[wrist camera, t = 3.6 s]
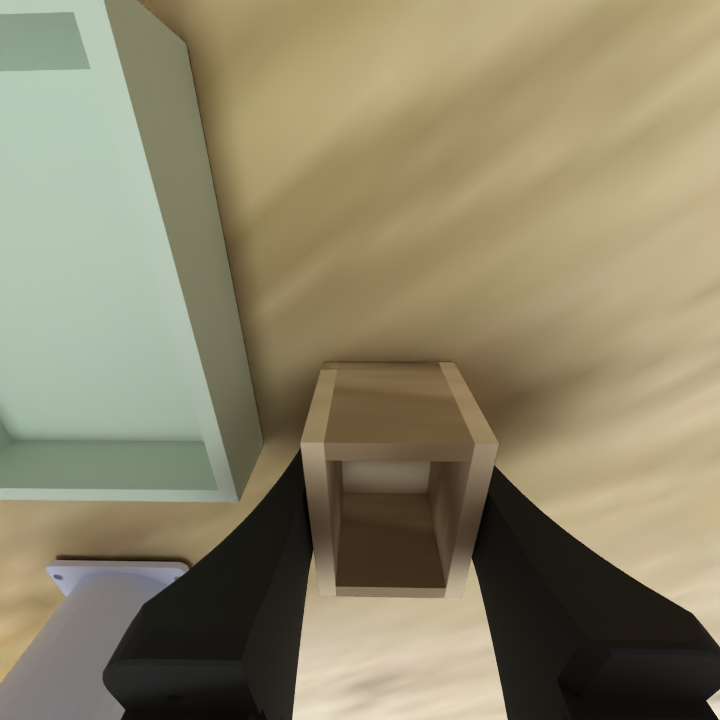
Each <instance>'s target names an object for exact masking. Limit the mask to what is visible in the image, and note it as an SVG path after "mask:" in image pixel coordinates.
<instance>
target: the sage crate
mask: <svg viewBox="0 0 720 720" xmlns="http://www.w3.org/2000/svg"><path fill="white" fill-rule="evenodd" d="M263 445H264V443H263V438H262V432H261V427H260V422H259V417H258V412H257V407H256V402H255V396H254V391H253V386H252V381H251V376H250V371H249V365H248V360H247V355H246V350H245V345H244V340H243V334H242V329H241V324H240V319H239V314H238V309H237V303H236V298H235V293H234V288H233V283H232V278H231V272H230V267H229V262H228V257H227V252H226V247H225V241H224V236H223V231H222V226H221V221H220V216H219V211H218V205H217V200H216V195H215V190H214V185H213V180H212V174H211V169H210V164H209V159H208V154H207V149H206V143H205V138H204V133H203V128H202V123H201V118H200V112H199V107H198V102H197V97H196V92H195V87H194V81H193V76H192V71H191V66H190V61H189V56H188V50H187V45H186V43H185V42H184V41H183V40H181V39H180V38H179V37H178V36H177V35H176V34H175V33H174V32H172V31H171V30H170V29H169V28H168V27H167V26H166V25H164V24H163V23H162V22H161V21H160V20H159V19H158V18H157V17H155V16H154V15H153V14H152V13H151V12H150V11H149V10H148V9H146V8H145V7H144V6H143V5H142V4H141V3H140V2H139V1H137V0H0V500H67V501H159V502H239V501H240V499H241V496H242V494H243V492H244V489H245V487H246V485H247V482H248V480H249V478H250V475H251V473H252V471H253V468H254V466H255V464H256V462H257V459H258V457H259V455H260V452H261V450H262V448H263Z"/></svg>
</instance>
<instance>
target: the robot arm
mask: <svg viewBox="0 0 720 720" xmlns="http://www.w3.org/2000/svg"><path fill="white" fill-rule="evenodd" d="M312 554H313V541H312V533H311V525H310V517H309V509H308V501H307V493H306V485H305V477H304V469H303V461H302V453H301V448H300V450H299V451H298V453H297V454H296V456H295V457H294V459H293V460H292V462H291V463H290V465H289V466H288V468H287V469H286V470H285V472H284V473H283V474H282V476H281V477H280V479H279V480H278V481H277V483H276V484H275V485H274V486H273V488H272V489H271V490H270V491H269V493H268V494H267V495H266V496H265V497H264V499H263V500H262V501H261V502H260V503H259V504H258V506H257V507H256V508H255V509H254V510H253V511H252V512H251V513H250V514H249V515H248V517H247V518H246V519H245V520H244V521H243V522H242V523H241V524H240V525H239V526H238V527H237V528H236V529H235V530H234V531H233V532H232V533H231V534H230V535H229V536H228V537H226V538H225V539H224V540H223V541H222V542H221V543H220V544H219V545H218V546H217V547H216V548H214V549H213V550H212V551H211V552H210V553H209V554H207V555H206V556H205V557H204V558H203V559H201V560H200V561H199V562H198V563H197V564H196V565H194V566H193V567H192V568H191V569H190V570H189V568H188V566H187V565H186V564H184V563H182V562H150V561H86V560H54V561H52V562H50V564H49V565H48V566H47V567H46V572H47V573H48V574H49V576H50V577H51V578H52V580H53V581H54V582H55V583H56V585H57V586H58V587H59V588H60V590H61V591H62V592H63V594H64V595H65V596H66V598H65V600H64V601H63V602H62V604H61V605H60V606H59V608H58V609H57V610H56V611H55V613H54V614H53V615H52V617H51V618H50V619H49V621H48V622H47V623H46V624H45V626H44V627H43V628H42V630H41V631H40V632H39V634H38V635H37V636H36V637H35V639H34V640H33V641H32V643H31V644H30V645H29V647H28V648H27V649H26V651H25V652H24V653H23V654H22V656H21V657H20V658H19V660H18V661H17V662H16V664H15V665H14V666H13V667H12V669H11V670H10V671H9V673H8V674H7V675H6V677H5V678H4V679H3V681H2V682H1V683H0V720H292V714H293V704H294V694H295V684H296V675H297V666H298V657H299V648H300V639H301V630H302V622H303V614H304V605H305V598H306V590H307V582H308V575H309V569H310V563H311V558H312ZM472 560H473V563H474V566H475V570H476V573H477V577H478V581H479V585H480V589H481V593H482V597H483V602H484V606H485V610H486V615H487V619H488V624H489V628H490V633H491V637H492V642H493V646H494V651H495V656H496V661H497V666H498V671H499V676H500V681H501V686H502V691H503V696H504V702H505V707H506V712H507V718H508V720H719V719H718V718H717V716H716V715H715V713H714V712H713V710H712V709H711V707H710V706H709V704H708V703H707V702H706V700H707V699H709V698H710V697H711V696H712V695H713V694H715V693H716V692H717V691H718V690H719V689H720V647H719V645H718V644H717V643H716V642H715V640H714V639H713V638H712V637H711V635H710V634H709V633H708V632H707V630H706V629H705V628H704V627H703V626H702V624H701V623H700V622H699V621H698V620H697V618H696V617H695V616H694V615H693V614H692V613H691V612H689V611H687V610H685V609H684V608H682V607H680V606H679V605H677V604H675V603H674V602H672V601H670V600H669V599H667V598H665V597H663V596H662V595H660V594H658V593H657V592H655V591H653V590H652V589H650V588H648V587H646V586H645V585H643V584H642V583H640V582H638V581H637V580H635V579H634V578H632V577H631V576H629V575H628V574H626V573H624V572H623V571H621V570H620V569H618V568H617V567H615V566H614V565H612V564H611V563H609V562H608V561H606V560H605V559H603V558H602V557H600V556H599V555H598V554H596V553H595V552H593V551H592V550H591V549H589V548H588V547H587V546H585V545H584V544H582V543H581V542H580V541H578V540H577V539H576V538H574V537H573V536H572V535H570V534H569V533H568V532H566V531H565V530H564V529H563V528H561V527H560V526H559V525H558V524H556V523H555V522H554V521H553V520H552V519H550V518H549V517H548V516H547V515H546V514H544V513H543V512H542V511H541V510H540V509H539V508H537V507H536V506H535V505H534V504H533V503H532V502H531V501H530V500H529V499H528V498H526V497H525V496H524V495H523V494H522V493H521V492H520V491H519V490H518V489H517V488H516V487H515V486H514V485H513V484H512V483H511V482H510V481H509V480H508V479H507V478H506V477H505V476H504V475H503V474H502V473H501V472H500V471H499V469H498V468H497V467H496V466H495V465H494V468H493V472H492V476H491V480H490V484H489V488H488V492H487V496H486V500H485V505H484V509H483V513H482V517H481V521H480V525H479V529H478V533H477V537H476V541H475V545H474V550H473V554H472Z"/></svg>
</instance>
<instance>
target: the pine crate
mask: <svg viewBox="0 0 720 720" xmlns="http://www.w3.org/2000/svg"><path fill="white" fill-rule="evenodd" d="M300 445H301V453H302V461H303V469H304V477H305V485H306V493H307V501H308V509H309V517H310V525H311V533H312V541H313V549H314V557H315V565H316V573H317V581H318V589H319V596H355V597H409V598H462V595H463V591H464V586H465V582H466V578H467V574H468V570H469V566H470V562H471V558H472V554H473V550H474V545H475V541H476V537H477V533H478V529H479V525H480V521H481V517H482V513H483V509H484V505H485V500H486V496H487V492H488V488H489V484H490V480H491V476H492V472H493V468H494V464H495V459H496V455H497V451H498V447H499V442H498V441H497V439H496V437H495V435H494V433H493V432H492V430H491V428H490V426H489V424H488V422H487V421H486V419H485V417H484V415H483V413H482V412H481V410H480V408H479V406H478V404H477V402H476V401H475V399H474V397H473V395H472V393H471V392H470V390H469V388H468V386H467V384H466V382H465V381H464V379H463V377H462V375H461V373H460V372H459V370H458V368H457V366H456V364H455V362H323V364H322V367H321V371H320V375H319V378H318V382H317V385H316V389H315V392H314V396H313V399H312V403H311V406H310V410H309V413H308V417H307V420H306V424H305V427H304V431H303V435H302V438H301V442H300Z"/></svg>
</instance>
